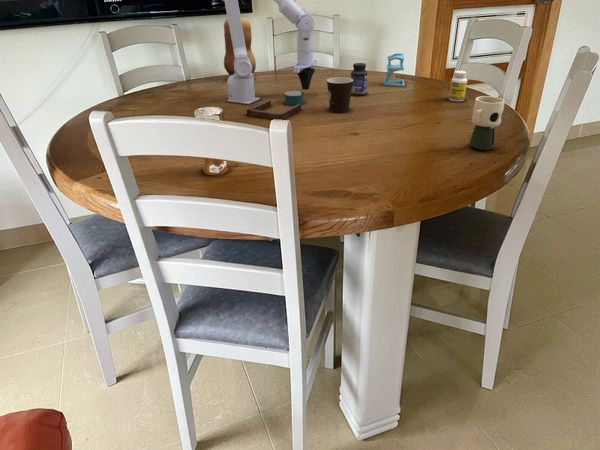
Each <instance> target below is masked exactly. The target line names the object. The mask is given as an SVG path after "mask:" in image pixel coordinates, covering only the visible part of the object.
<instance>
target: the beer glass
mask: <svg viewBox="0 0 600 450" xmlns="http://www.w3.org/2000/svg"><path fill="white" fill-rule="evenodd" d="M193 114H194V118H195V117H196V118H205V119H215V120H223V121H225V116H224V109H223V108H221V107H217V106H206V107H200V108H197V109H195V110H194V113H193ZM225 122H226V121H225ZM202 160H203V165H202V166H203V168H202V171H203V173H204V174H205V175H207V176H221V175H223V174H226V173H227V172H228V171H229V166H228V162H227V160H226V161H222V160H215V159H207V158H203V157H202Z"/></svg>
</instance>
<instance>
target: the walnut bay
mask: <svg viewBox="0 0 600 450" xmlns="http://www.w3.org/2000/svg"><path fill="white" fill-rule="evenodd" d="M271 107H272V100H269V99H267V100H266V101H263V102H261V103H258V104H257V105H254V106H252V107H250V108H248V109H246V116H247V117H254V118H258V119H259V118H260V119H265V120H266V119H268V120H273V119H283V120H282V121H284V120H286V119H288V118H290V117H292V116H294V115H295V114H297V113H299V112H302V105H301V104H297V105H295V106H292V107H289V108H288V109H286V110H284V111H282V112H274V111H267V110H266V109H269V108H271ZM265 110H266V111H265Z"/></svg>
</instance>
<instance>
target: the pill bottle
mask: <svg viewBox="0 0 600 450" xmlns="http://www.w3.org/2000/svg"><path fill="white" fill-rule="evenodd" d="M352 68H353V69H352V70H351V72H350V79H353V84H352V91H351V96H354V97H363V96H366V95H367V92H368V87H367V86H368V71H367V70H366V69H367V63H365V62H355V63H353V64H352Z"/></svg>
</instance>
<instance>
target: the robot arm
mask: <svg viewBox="0 0 600 450" xmlns="http://www.w3.org/2000/svg"><path fill="white" fill-rule="evenodd" d="M223 1H224V6H225V7H224V8H225V11H226V17H227V18H228V23H229V28H230V34H231V39H232V44H233V50H234V56H235V59H234V71H235V74H233V75H231V76H230V75H229V77H228V78H227V82H226V86H227V87H226V88H227V98H228V99H227V102H228V103H229V102H231V103H237V104H245V105H250V104H252V103H254V102H257V101H259V100H260V99H261V98H260V97H258V96H256V91H255V77H254V76H255V75H254V73H251V72H252V65H251V60H250V58H249V57H248V56H247V51H246V45H245V39H244V34H243V28H242V22H241V10H240V6H239V0H223ZM273 1H274V3H276V4H277V6H278V12H280V13H281V14H282V15H283V16H284V17H285V18H286V19H287V20H288V21H289V22H290V23H291V24H294V26H295V27H296V31H297V33H296V34H297V35H296V51H297V52H296V56H297V59H296V60H297V63H296V64H295V65H294V66H293V67H292V72H293V74H296V75H297V76H298V78H299V82H300V85H301V88H302V90H305V91H308V90H309V89H310V86H311V82H312V79H313V75H314V73H315V71H316V69H315V67H316V66H318V60H317V59H314V36H313V35H314V28H315V26H316V24H315V21H314V18H313V17H312V16H311V15H309V13H308V12H307V10H306V8H302V7H301V5H299V4H298V3H297V0H273ZM312 67H313V68H312Z"/></svg>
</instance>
